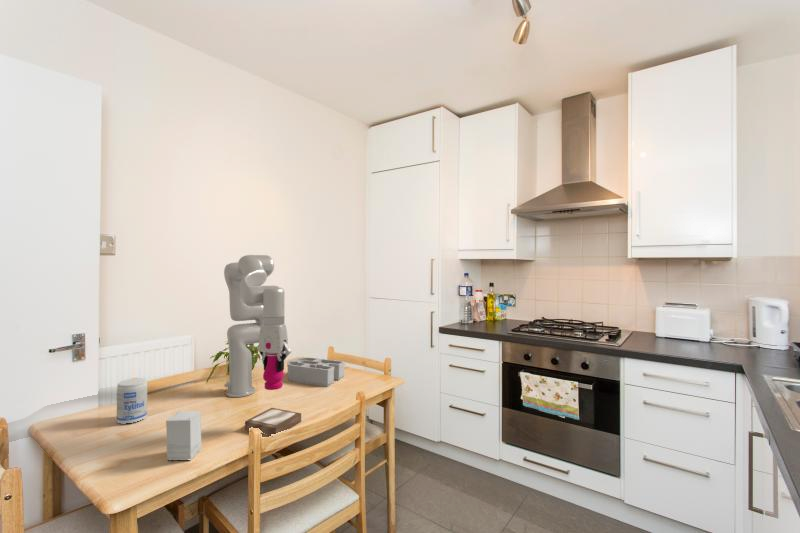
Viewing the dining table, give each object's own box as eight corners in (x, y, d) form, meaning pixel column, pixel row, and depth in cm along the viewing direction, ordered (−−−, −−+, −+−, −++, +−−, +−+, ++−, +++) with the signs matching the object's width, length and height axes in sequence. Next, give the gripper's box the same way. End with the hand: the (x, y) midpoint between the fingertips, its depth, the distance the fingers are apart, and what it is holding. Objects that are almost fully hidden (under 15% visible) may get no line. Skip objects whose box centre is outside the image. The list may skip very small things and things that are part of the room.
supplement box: (202, 449, 125) (202, 410, 124) (190, 461, 117) (190, 420, 117) (178, 449, 124) (178, 410, 124) (165, 461, 117) (165, 420, 117)
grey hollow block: (327, 387, 186) (327, 370, 185) (280, 380, 196) (280, 363, 196) (345, 378, 201) (345, 361, 201) (300, 372, 211) (300, 356, 211)
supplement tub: (124, 427, 140) (124, 387, 140) (111, 421, 145) (111, 383, 145) (152, 417, 149) (152, 380, 149) (139, 413, 154) (139, 376, 153)
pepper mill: (277, 391, 138) (277, 335, 137) (259, 389, 139) (258, 334, 139) (287, 384, 145) (287, 331, 144) (269, 383, 146) (269, 331, 146)
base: (244, 430, 139) (244, 420, 138) (271, 415, 151) (271, 407, 151) (276, 437, 133) (276, 427, 133) (301, 421, 146) (301, 412, 146)
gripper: (248, 321, 141) (248, 370, 142) (285, 324, 135) (285, 375, 135) (262, 318, 148) (262, 365, 149) (299, 321, 142) (299, 370, 142)
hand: (273, 369), depth 142 cm, fingers closed on pepper mill, 5 cm apart
